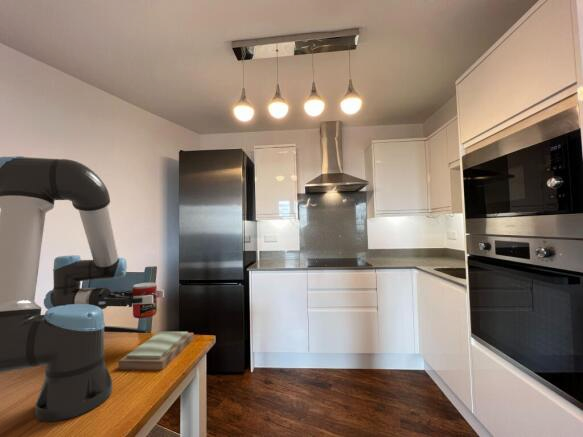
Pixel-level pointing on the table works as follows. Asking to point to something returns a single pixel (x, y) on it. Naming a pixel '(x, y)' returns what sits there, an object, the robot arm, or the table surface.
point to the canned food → (145, 309)
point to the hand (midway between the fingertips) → (158, 296)
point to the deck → (157, 351)
